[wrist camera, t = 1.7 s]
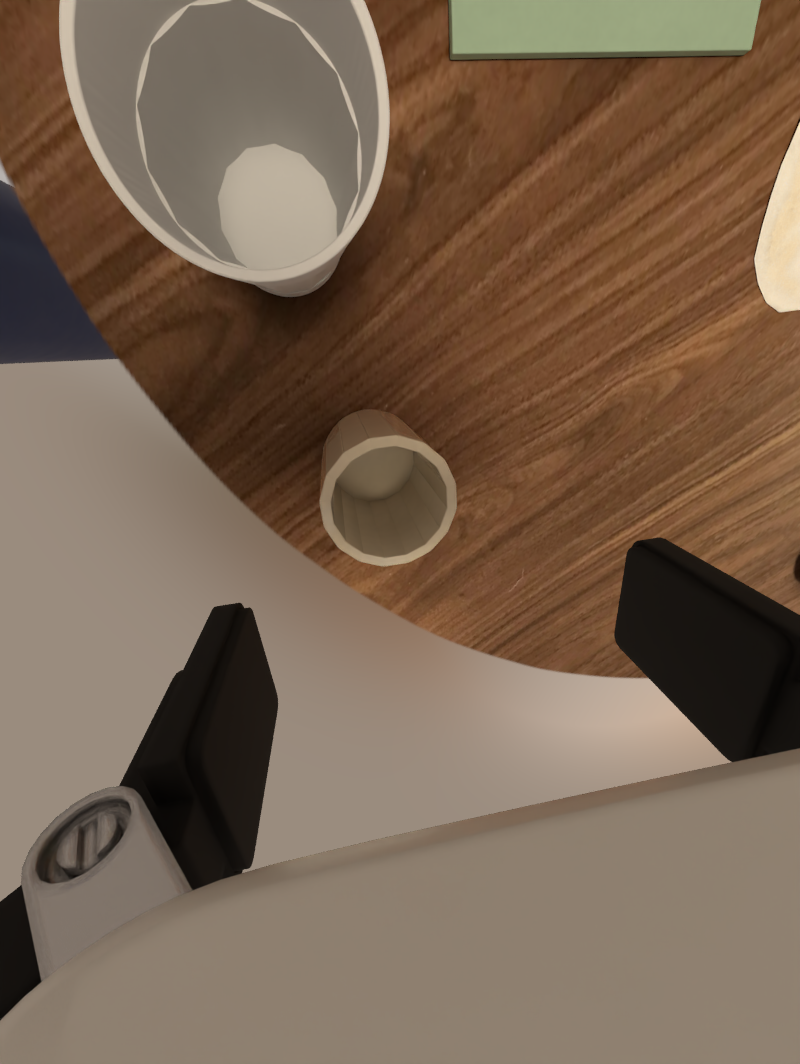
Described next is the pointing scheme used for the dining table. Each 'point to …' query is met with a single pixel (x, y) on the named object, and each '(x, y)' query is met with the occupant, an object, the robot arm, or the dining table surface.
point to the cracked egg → (782, 237)
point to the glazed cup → (384, 490)
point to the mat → (600, 28)
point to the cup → (235, 126)
